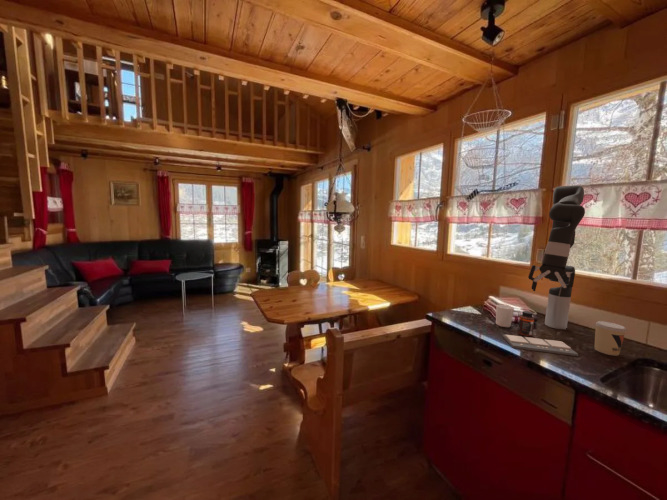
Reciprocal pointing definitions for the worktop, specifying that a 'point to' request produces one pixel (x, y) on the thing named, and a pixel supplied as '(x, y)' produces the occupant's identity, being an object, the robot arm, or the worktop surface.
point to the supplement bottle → (526, 324)
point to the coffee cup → (609, 337)
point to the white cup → (504, 315)
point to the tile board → (539, 345)
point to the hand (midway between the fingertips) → (546, 293)
